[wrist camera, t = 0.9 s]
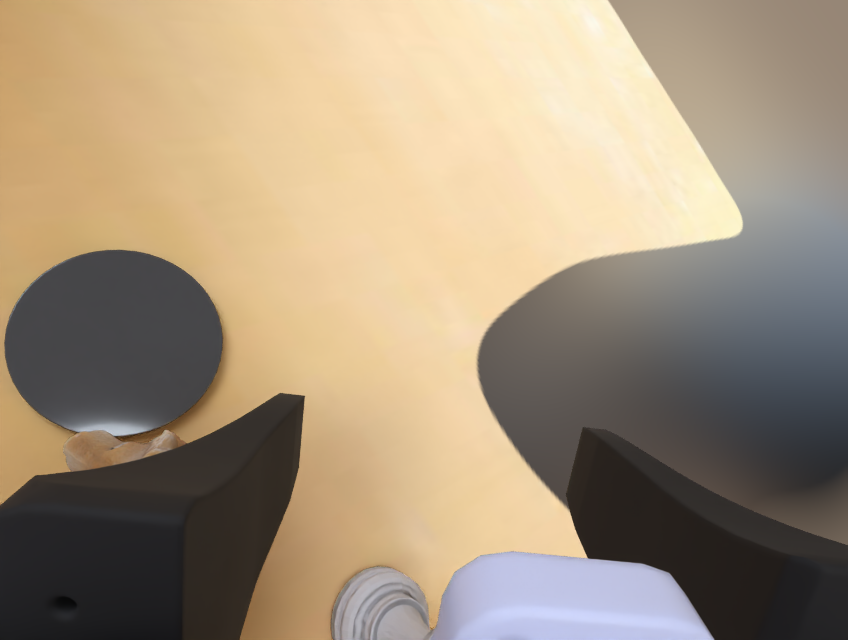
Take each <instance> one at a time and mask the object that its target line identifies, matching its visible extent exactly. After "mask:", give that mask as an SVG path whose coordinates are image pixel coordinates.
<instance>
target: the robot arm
mask: <svg viewBox="0 0 848 640" xmlns="http://www.w3.org/2000/svg"><path fill="white" fill-rule="evenodd" d="M304 399H305V396H301V395H292V394H283V393H280V394H278V395H276V396H274V397H273V398H271V399H270V400H268V401H266V402H265V403H263V404H262V405H260V406H259V407H257V408H255V409H254V410H252V411H251V412H249V413H247V414H246V415H244V416H242V417H241V418H239V419H237V420H235V421H234V422H232V423H230V424H228V425H226V426H224V427H222V428H220V429H219V430H217V431H215V432H213V433H211V434H209V435H207V436H204V437H202V438H200V439H198V440H195V441H193V442H190V443H188V444H185V445H183V446H180V447H177V448H175V449H172V450H168V451H165V452H162V453H158V454H155V455H152V456H148V457H145V458H142V459H138V460H134V461H130V462H125V463H121V464H117V465H111V466H106V467H101V468H95V469H89V470H82V471H73V472H65V473H56V474H48V475H36V476H34V477H33V478H32V479H31V480H29V481H28V482H27V483H26V484H25V485H23V486H22V487H21V488H20V489H19V490H18V491H16V492H15V493H14V494H13V495H12V496H11V497H10V498H8V499H7V500H6V501H5V502H4V503H3V504H1V505H0V640H239V638H240V635H241V631H242V628H243V625H244V621H245V618H246V614H247V611H248V608H249V604H250V601H251V598H252V594H253V591H254V588H255V585H256V583H257V580H258V577H259V574H260V572H261V569H262V567H263V565H264V562H265V560H266V557H267V555H268V553H269V550H270V548H271V545H272V543H273V541H274V538H275V536H276V533H277V531H278V529H279V526H280V524H281V521H282V519H283V517H284V514H285V512H286V509H287V507H288V504H289V502H290V499H291V495H292V491H293V488H294V484H295V480H296V476H297V472H298V468H299V458H300V446H301V434H302V422H303V410H304ZM566 497H567V501H568V505H569V509H570V513H571V516H572V520H573V523H574V526H575V530H576V532H577V534H578V537H579V539H580V541H581V544H582V546H583V548H584V550H585V553H586V555H587V557H588V558H577V557H567V556H556V555H545V554H535V553H524V552H514V551H512V552H504V553H496V554H488V555H481V556H479V557H477V558H476V559H474V560H473V561H471V562H470V563H468V564H466V565H465V566H463V567H462V568H460V569H459V570H457V571H455V573H454V575H453V576H452V578H451V580H450V582H449V584H448V586H447V588H446V590H445V592H444V593H443V595H442V600H441V605H440V611H439V616H438V621H437V625H436V628H435V631H434V634H433V636H432V637H431V638H430V640H848V545H845V544H842V543H839V542H836V541H832V540H829V539H826V538H823V537H820V536H817V535H814V534H811V533H808V532H805V531H802V530H800V529H797V528H794V527H791V526H789V525H786V524H784V523H781V522H778V521H776V520H773V519H770V518H768V517H766V516H763V515H761V514H758V513H756V512H754V511H752V510H749V509H747V508H745V507H743V506H741V505H738V504H736V503H734V502H732V501H730V500H728V499H726V498H724V497H722V496H720V495H718V494H716V493H714V492H712V491H710V490H708V489H706V488H704V487H702V486H701V485H699V484H697V483H696V482H693V481H692V480H690V479H688V478H687V477H685V476H683V475H682V474H680V473H678V472H676V471H675V470H673V469H671V468H670V467H668V466H667V465H665V464H663V463H662V462H660V461H659V460H657V459H655V458H654V457H652V456H651V455H649V454H647V453H646V452H644V451H642V450H641V449H639V448H638V447H636V446H634V445H633V444H631V443H630V442H628V441H626V440H625V439H623V438H621V437H619V436H618V435H616V434H614V433H612V432H610V431H607V430H604V429H595V428H586V427H583V428H582V433H581V437H580V441H579V445H578V449H577V453H576V457H575V461H574V465H573V469H572V473H571V477H570V481H569V485H568V489H567V493H566Z"/></svg>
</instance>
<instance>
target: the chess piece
mask: <svg viewBox="0 0 848 640" xmlns="http://www.w3.org/2000/svg"><path fill="white" fill-rule="evenodd" d="M331 630H332V637H333V640H430V638H431V637H432V636H433V634H434V631H435V628H434V629H433V630H430V628H429V612H428V605H427V602H426V598H425V595H424V593H423V592H422V590H421V589H420V587H419V585H418V584H417V583H415V582H414V581H413V580H412V579H411V578H410V577H407V576H406V575H404V574H403V573H401V572H399V571H397V570H395V569H392V568H390V567H380V566H377V567H372V568H368V569H365V570H363V571H362V572H360V573H358V574H356V575H355V576H354V577H353V578H352V579H351V580H349V581H348V582H347V583H346V585H345V586H344V588H343V589H342V590H341V592H340V593H339V595H338V598H337V600H336V602H335V605H334V607H333V613H332V619H331Z"/></svg>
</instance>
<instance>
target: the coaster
mask: <svg viewBox="0 0 848 640" xmlns="http://www.w3.org/2000/svg"><path fill="white" fill-rule="evenodd" d="M222 344H223V337H222V328H221V323H220V319H219V316H218V313H217V311H216V308H215V306H214V304H213V302H212V301H211V299H210V297H209V295H208V294H207V293H206V292H205V290H204V289H203V288H202V286H201V285H200V284H199V283H198V282H197V281H196V280H195V279H194V278H193V277H191V276H190V275H189V274H188V273H186V272H185V271H184V270H182V269H181V268H179V267H177V266H176V265H174V264H172V263H170V262H168V261H166V260H164V259H162V258H159V257H156V256H153V255H150V254H146V253H141V252H136V251H127V250H105V251H96V252H91V253H87V254H82V255H79V256H76V257H73V258H70V259H68V260H65V261H63V262H61V263H59V264H57V265H55V266H54V267H52V268H51V269H49V270H48V271H46V272H45V273H43V274H42V275H41V276H39V277H38V278H37V279H36V280H35V281H34V282H32V283H31V285H30V286H29V287H28V288H27V289H26V290H25V291H24V292H23V294H22V295H21V297H20V298H19V300H18V301H17V303H16V304H15V306H14V309H13V311H12V313H11V315H10V317H9V321H8V324H7V328H6V334H5V342H4V345H5V358H6V363H7V367H8V371H9V373H10V376H11V378H12V381H13V383H14V385H15V386H16V388H17V390H18V391H19V393H20V394H21V396H22V397H23V398H24V399H25V400H26V402H27V403H28V404H29V405H30V406H31V407H32V408H33V409H35V410H36V411H37V412H38V413H39V414H40V415H42V416H43V417H45V418H46V419H48V420H49V421H51V422H53V423H55V424H57V425H59V426H61V427H63V428H65V429H68V430H71V431H74V432H77V433H79V432H84V431H87V432H91V431H96V430H103V431H107V432H108V433H110V434H112V435H113V436H114V437H126V436H132V435H138V434H142V433H145V432H149V431H152V430H155V429H157V428H160V427H162V426H164V425H166V424H168V423H170V422H172V421H174V420H175V419H177V418H178V417H180V416H181V415H183V414H184V413H185V412H187V411H188V410H189V409H190V408H191V407H192V406H193V405H195V404H196V403H197V402H198V401H199V399H200V398H201V397H202V396H203V395H204V393H205V392H206V391H207V389H208V388H209V386H210V384H211V383H212V381H213V379H214V377H215V375H216V373H217V370H218V367H219V363H220V360H221V354H222Z"/></svg>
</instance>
